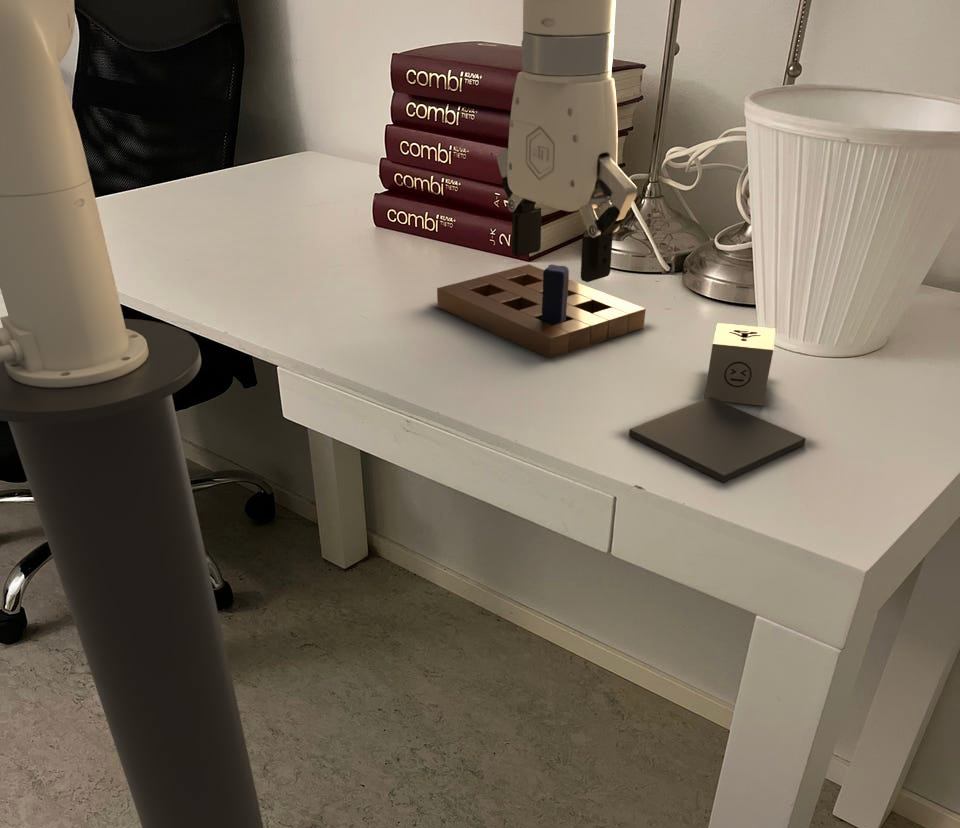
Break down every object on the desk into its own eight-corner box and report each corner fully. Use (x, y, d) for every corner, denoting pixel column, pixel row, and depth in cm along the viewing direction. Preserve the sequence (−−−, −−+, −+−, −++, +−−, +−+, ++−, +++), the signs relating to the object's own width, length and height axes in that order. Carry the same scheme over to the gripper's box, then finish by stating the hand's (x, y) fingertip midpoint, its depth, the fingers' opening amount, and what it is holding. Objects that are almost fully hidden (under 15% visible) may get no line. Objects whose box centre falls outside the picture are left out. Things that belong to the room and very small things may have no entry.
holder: (549, 359, 92) (550, 338, 90) (437, 306, 103) (436, 287, 101) (644, 328, 98) (646, 308, 97) (528, 282, 109) (529, 264, 108)
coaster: (722, 482, 73) (724, 475, 73) (628, 435, 79) (629, 428, 79) (804, 444, 78) (806, 437, 77) (709, 403, 84) (710, 396, 84)
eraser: (546, 332, 97) (549, 262, 93) (567, 335, 96) (570, 265, 92) (538, 339, 95) (540, 269, 91) (559, 343, 95) (562, 272, 90)
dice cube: (765, 382, 87) (775, 328, 84) (762, 405, 83) (773, 349, 80) (709, 376, 88) (717, 322, 85) (704, 399, 84) (712, 343, 81)
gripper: (468, 50, 84) (472, 252, 95) (607, 74, 74) (594, 298, 84) (533, 42, 88) (530, 237, 99) (675, 63, 77) (653, 279, 88)
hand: (559, 265), depth 91 cm, fingers open, 9 cm apart
